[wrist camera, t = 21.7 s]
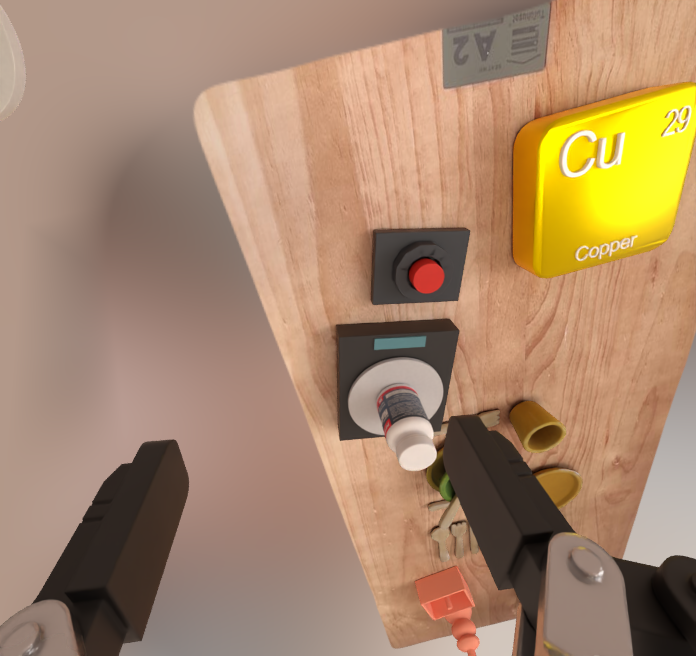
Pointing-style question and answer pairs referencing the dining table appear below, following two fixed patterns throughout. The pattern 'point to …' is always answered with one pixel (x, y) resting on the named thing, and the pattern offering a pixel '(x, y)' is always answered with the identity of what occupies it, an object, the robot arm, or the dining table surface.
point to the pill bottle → (406, 427)
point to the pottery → (450, 605)
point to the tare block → (404, 250)
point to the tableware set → (559, 483)
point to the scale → (392, 370)
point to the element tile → (601, 179)
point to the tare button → (426, 275)
